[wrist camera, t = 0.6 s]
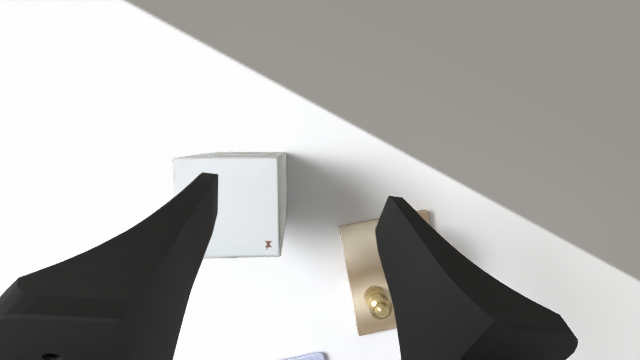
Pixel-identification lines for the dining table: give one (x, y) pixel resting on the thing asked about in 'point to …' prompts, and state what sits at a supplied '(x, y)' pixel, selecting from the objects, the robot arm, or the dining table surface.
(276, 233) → the supplement box
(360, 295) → the board
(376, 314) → the stud
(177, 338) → the robot arm
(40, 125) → the dining table surface
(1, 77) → the dining table surface
